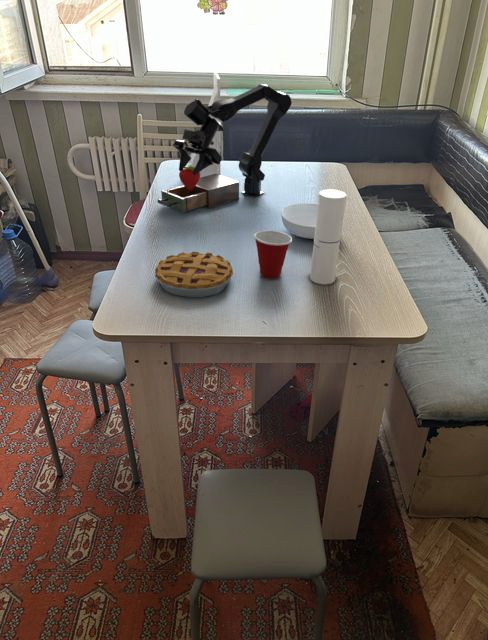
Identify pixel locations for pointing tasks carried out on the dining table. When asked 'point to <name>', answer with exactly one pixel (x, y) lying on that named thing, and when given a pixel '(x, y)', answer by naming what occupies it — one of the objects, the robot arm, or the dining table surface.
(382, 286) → the dining table surface
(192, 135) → the robot arm
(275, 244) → the plastic cup
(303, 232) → the serving bowl
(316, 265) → the cylindrical container
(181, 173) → the strawberry
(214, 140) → the white bracket plate
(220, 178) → the cabinet
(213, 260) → the pie
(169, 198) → the drawer
